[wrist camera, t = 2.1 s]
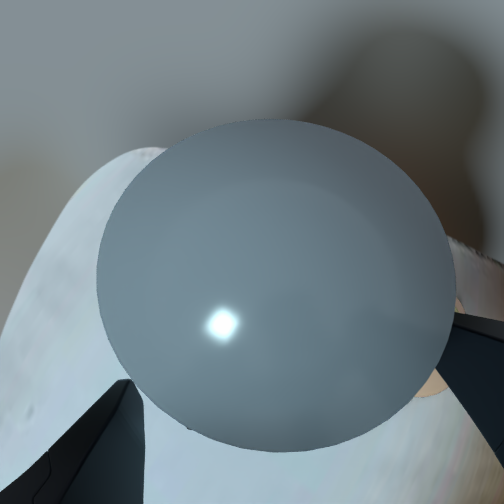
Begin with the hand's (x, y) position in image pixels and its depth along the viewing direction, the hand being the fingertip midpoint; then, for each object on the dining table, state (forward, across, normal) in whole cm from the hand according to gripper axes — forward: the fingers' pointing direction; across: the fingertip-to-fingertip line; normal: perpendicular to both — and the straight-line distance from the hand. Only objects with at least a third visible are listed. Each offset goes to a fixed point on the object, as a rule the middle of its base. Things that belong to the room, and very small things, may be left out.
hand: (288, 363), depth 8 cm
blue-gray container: (+8, 0, +6) cm, 10 cm away
